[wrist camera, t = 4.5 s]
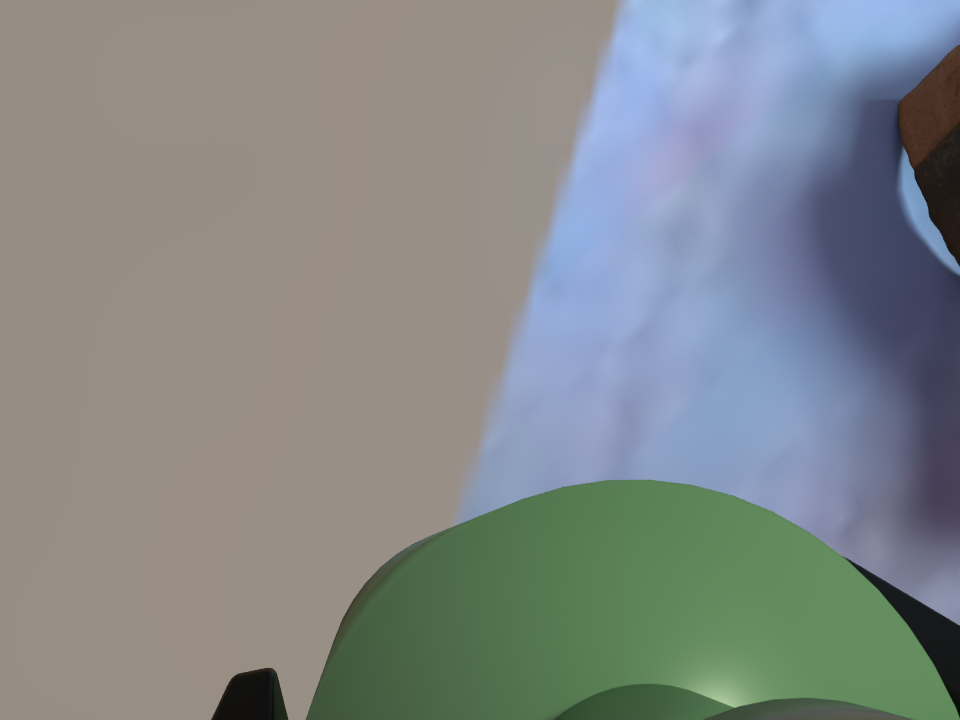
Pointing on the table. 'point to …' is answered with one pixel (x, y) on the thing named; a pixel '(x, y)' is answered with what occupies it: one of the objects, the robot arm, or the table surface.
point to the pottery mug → (936, 144)
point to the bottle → (625, 620)
